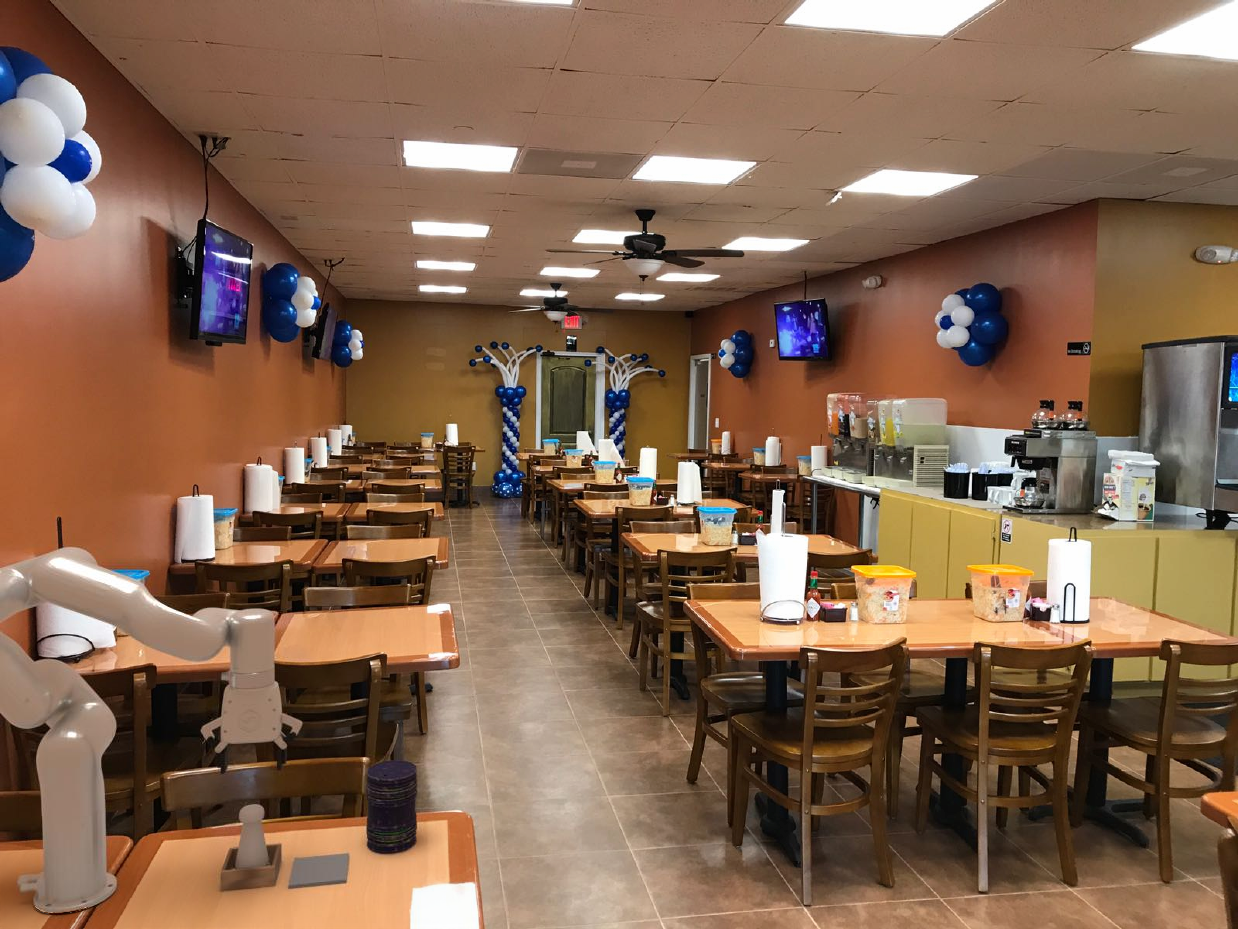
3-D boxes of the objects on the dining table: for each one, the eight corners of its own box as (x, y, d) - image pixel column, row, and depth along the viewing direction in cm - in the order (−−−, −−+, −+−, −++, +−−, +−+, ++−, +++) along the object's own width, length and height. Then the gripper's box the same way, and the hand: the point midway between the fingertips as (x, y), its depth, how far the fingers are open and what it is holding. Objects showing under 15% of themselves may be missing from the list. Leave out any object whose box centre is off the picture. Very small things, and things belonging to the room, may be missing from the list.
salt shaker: (256, 885, 165) (256, 816, 165) (228, 882, 167) (227, 812, 166) (275, 869, 171) (274, 802, 170) (247, 866, 172) (247, 799, 171)
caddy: (220, 891, 163) (220, 872, 163) (229, 865, 172) (229, 847, 172) (275, 886, 166) (274, 867, 165) (281, 861, 174) (281, 843, 174)
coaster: (288, 888, 165) (288, 885, 165) (294, 861, 174) (294, 858, 174) (345, 882, 167) (345, 879, 167) (348, 856, 177) (348, 853, 177)
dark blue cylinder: (380, 828, 188) (380, 758, 187) (425, 834, 186) (425, 762, 185) (357, 851, 179) (356, 777, 178) (403, 857, 177) (404, 782, 176)
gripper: (196, 686, 161) (196, 781, 162) (300, 682, 165) (299, 774, 166) (205, 673, 168) (205, 764, 169) (304, 670, 172) (304, 758, 173)
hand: (252, 769), depth 168 cm, fingers open, 9 cm apart
